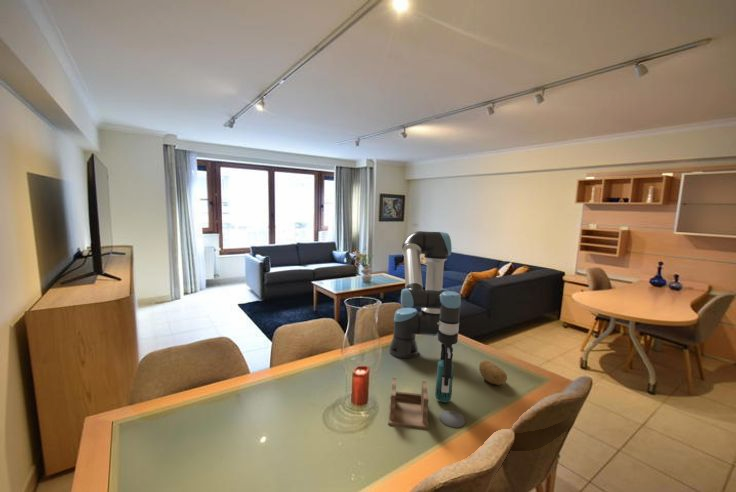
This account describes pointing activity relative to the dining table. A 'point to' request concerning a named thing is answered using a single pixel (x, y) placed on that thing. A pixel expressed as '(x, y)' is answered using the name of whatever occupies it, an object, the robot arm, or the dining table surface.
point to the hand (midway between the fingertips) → (443, 386)
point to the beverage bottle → (441, 395)
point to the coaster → (452, 419)
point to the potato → (492, 372)
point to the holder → (408, 408)
